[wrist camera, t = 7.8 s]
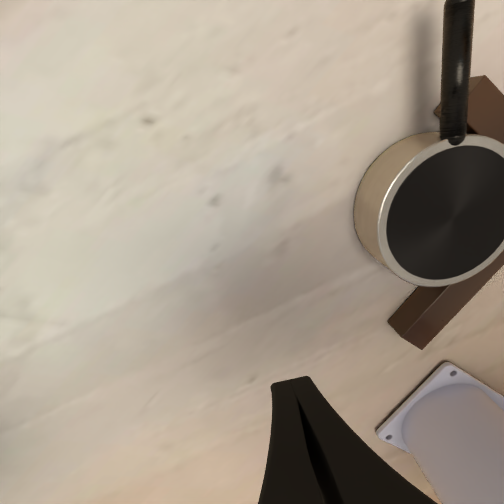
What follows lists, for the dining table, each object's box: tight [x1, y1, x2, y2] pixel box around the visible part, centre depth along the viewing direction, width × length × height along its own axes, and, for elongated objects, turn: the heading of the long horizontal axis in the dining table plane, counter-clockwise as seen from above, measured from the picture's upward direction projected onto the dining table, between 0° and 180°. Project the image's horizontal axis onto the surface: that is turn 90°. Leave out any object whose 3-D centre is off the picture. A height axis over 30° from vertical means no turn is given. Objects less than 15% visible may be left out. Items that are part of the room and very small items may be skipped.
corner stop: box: [388, 75, 504, 350], centre depth 20 cm, size 9×13×2 cm
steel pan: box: [354, 0, 504, 287], centre depth 17 cm, size 14×8×3 cm, turn 10°
